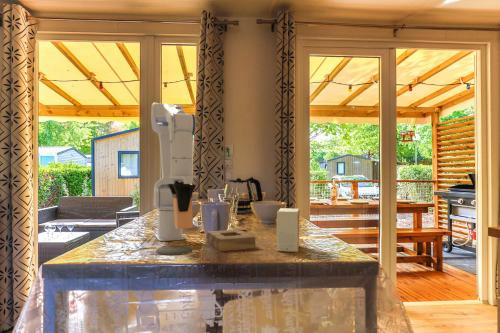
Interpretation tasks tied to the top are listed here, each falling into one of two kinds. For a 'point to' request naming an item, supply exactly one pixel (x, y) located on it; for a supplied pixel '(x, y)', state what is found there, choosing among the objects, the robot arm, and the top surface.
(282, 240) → the small box
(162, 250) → the coaster
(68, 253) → the top surface
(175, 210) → the plug
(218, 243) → the tan square socket
